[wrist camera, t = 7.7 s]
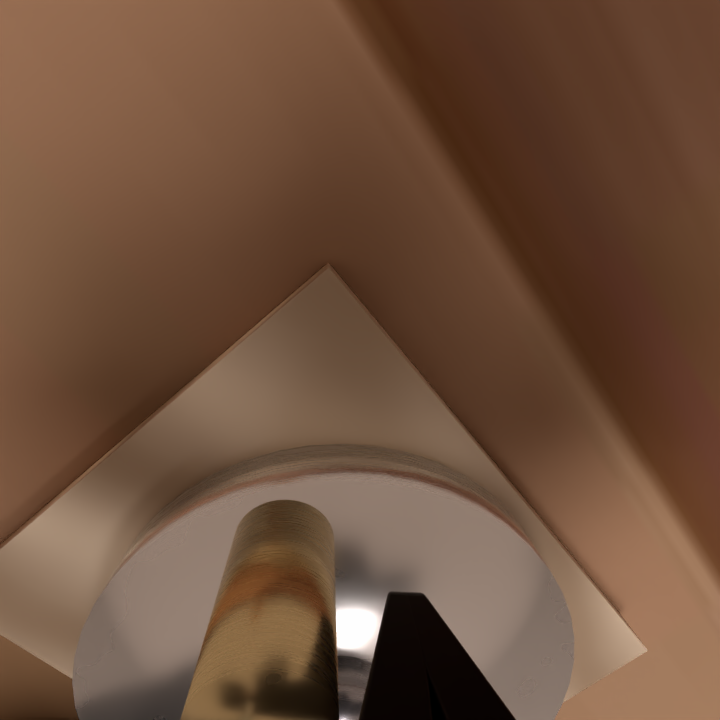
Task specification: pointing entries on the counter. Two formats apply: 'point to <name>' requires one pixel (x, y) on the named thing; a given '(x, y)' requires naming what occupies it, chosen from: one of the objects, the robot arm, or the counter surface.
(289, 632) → the handwheel
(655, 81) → the counter surface
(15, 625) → the base plate
